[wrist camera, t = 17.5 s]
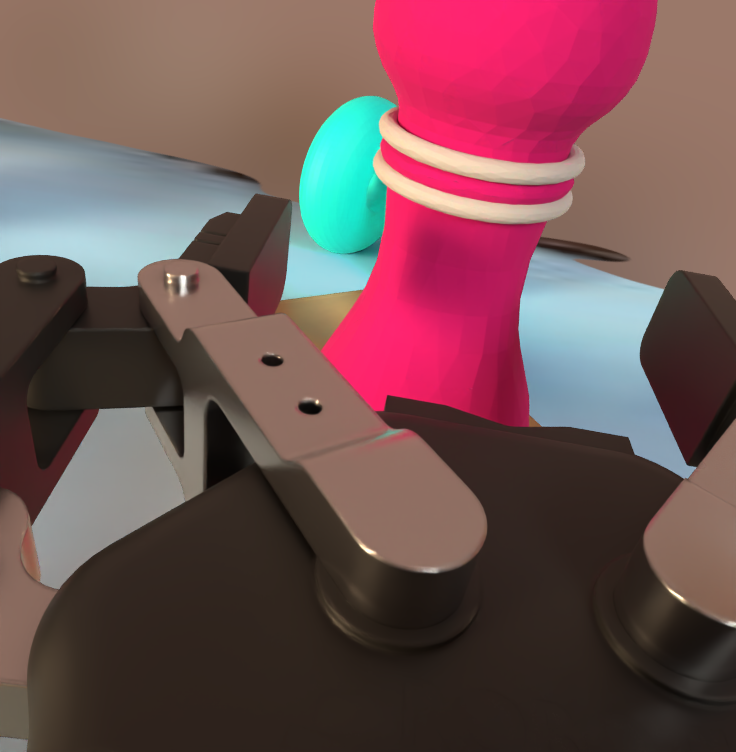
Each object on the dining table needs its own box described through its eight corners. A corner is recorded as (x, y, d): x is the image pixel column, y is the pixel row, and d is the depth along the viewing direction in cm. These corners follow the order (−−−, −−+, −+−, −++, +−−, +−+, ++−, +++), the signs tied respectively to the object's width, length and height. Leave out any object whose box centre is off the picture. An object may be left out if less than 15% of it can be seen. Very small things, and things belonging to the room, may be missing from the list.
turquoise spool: (411, 325, 38) (449, 152, 33) (283, 260, 43) (297, 98, 37) (490, 276, 45) (532, 127, 40) (373, 225, 50) (397, 84, 44)
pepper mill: (303, 435, 26) (387, -230, 15) (481, 464, 27) (695, -171, 15) (268, 585, 21) (363, -326, 9) (497, 620, 21) (868, -226, 9)
